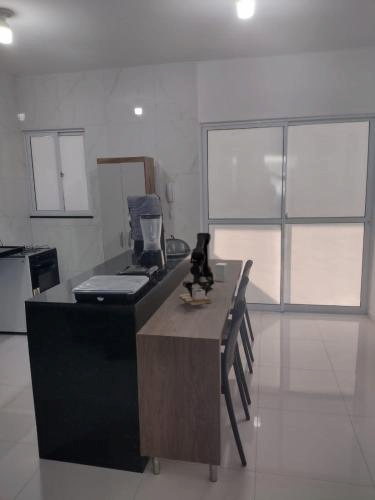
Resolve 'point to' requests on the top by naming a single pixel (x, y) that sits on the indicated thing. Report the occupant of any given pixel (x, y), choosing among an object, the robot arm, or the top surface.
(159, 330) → the top surface
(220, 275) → the supplement box
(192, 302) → the pin board
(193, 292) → the sleeve
